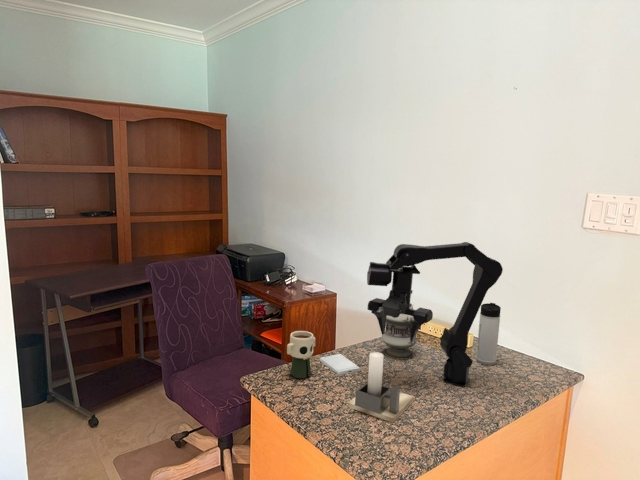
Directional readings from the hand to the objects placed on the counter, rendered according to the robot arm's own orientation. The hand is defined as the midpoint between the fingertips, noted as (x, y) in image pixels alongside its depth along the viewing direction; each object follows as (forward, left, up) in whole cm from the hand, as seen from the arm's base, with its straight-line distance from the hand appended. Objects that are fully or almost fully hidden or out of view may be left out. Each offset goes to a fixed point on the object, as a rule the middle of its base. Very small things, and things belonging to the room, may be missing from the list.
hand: (396, 337), depth 134 cm
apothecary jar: (+7, -20, -13) cm, 25 cm away
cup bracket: (-4, +20, -12) cm, 24 cm away
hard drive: (+18, +2, -14) cm, 23 cm away
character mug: (+24, +15, -13) cm, 32 cm away
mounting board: (-3, +16, -13) cm, 21 cm away
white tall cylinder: (-3, +20, -11) cm, 23 cm away
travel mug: (-20, -32, -13) cm, 40 cm away
